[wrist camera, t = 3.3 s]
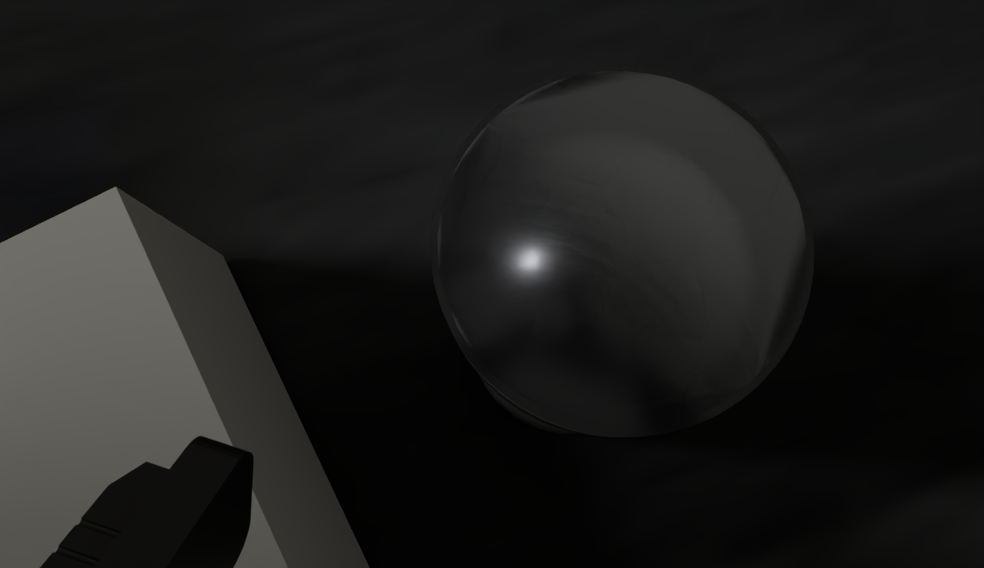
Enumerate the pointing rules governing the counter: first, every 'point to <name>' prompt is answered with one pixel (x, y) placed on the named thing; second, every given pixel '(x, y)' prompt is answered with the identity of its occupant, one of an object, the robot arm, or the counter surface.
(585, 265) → the lens
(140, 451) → the grey block with recess
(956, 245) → the counter surface
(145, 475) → the robot arm
